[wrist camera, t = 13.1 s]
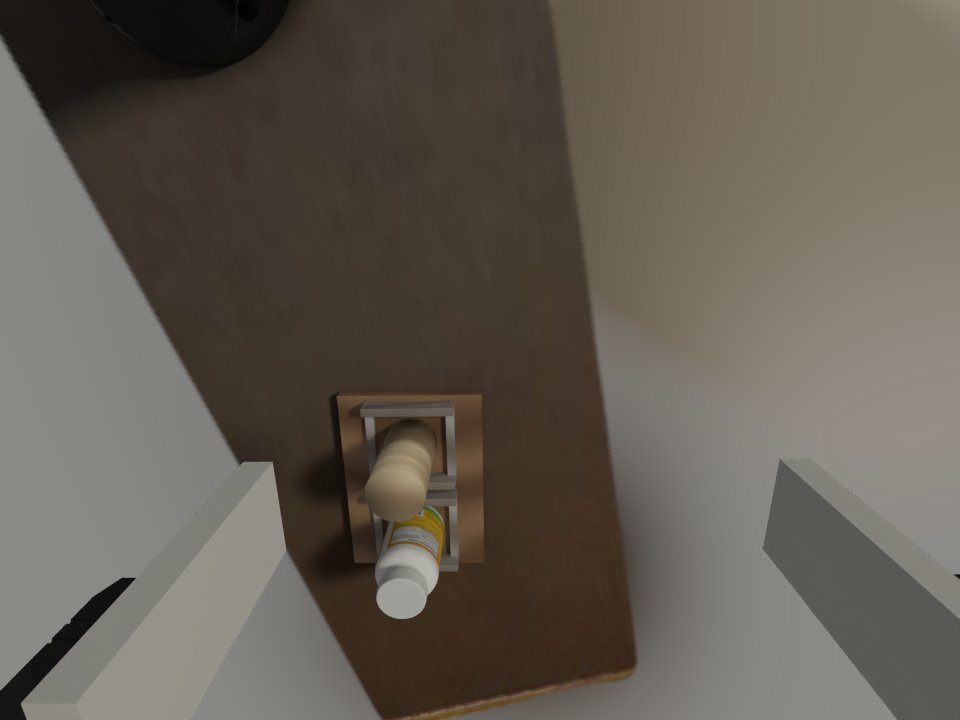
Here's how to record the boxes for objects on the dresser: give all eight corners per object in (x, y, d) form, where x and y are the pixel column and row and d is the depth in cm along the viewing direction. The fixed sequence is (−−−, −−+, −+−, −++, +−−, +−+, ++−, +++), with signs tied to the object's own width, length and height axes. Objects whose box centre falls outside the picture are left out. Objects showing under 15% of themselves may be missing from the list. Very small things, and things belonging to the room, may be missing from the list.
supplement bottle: (419, 557, 50) (404, 637, 41) (378, 525, 49) (353, 600, 40) (456, 523, 49) (449, 599, 40) (414, 490, 48) (397, 559, 39)
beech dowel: (385, 418, 46) (361, 468, 37) (435, 417, 46) (423, 468, 37) (388, 463, 47) (366, 522, 39) (437, 463, 47) (426, 521, 39)
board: (340, 391, 46) (330, 403, 44) (481, 390, 46) (481, 402, 43) (357, 555, 52) (349, 575, 49) (484, 554, 52) (484, 575, 49)
